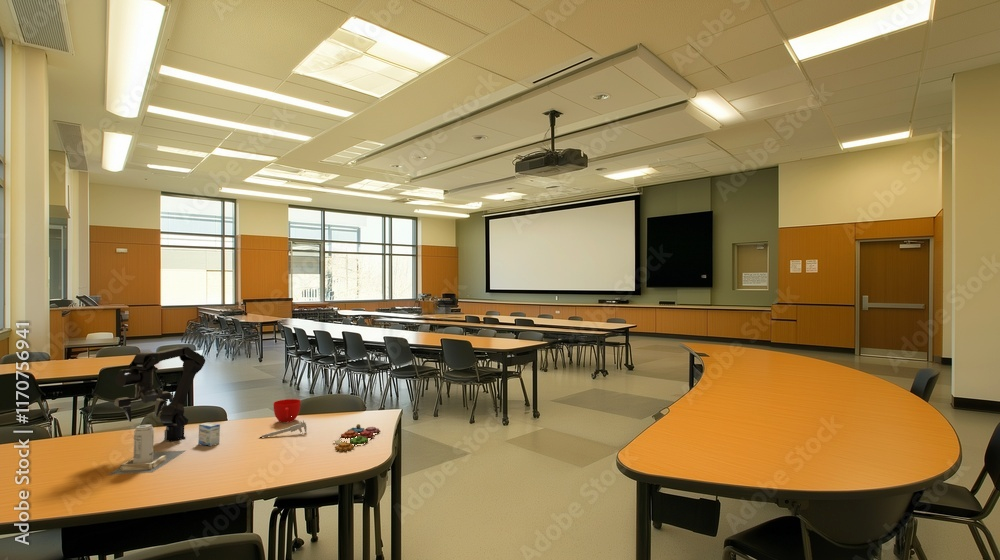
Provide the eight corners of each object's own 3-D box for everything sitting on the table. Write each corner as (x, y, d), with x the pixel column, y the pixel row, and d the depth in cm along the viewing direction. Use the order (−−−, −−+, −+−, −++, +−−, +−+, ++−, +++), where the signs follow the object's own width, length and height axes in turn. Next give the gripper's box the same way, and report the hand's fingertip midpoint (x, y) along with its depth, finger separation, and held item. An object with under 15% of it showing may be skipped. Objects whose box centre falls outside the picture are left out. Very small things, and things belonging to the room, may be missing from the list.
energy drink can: (154, 465, 178) (155, 425, 178) (134, 469, 174) (135, 429, 174) (151, 461, 182) (152, 422, 182) (131, 465, 178) (132, 426, 178)
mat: (147, 452, 192) (147, 452, 192) (186, 451, 195) (186, 450, 195) (107, 475, 169) (107, 474, 169) (152, 473, 171) (152, 472, 171)
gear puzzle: (356, 454, 193) (356, 444, 193) (319, 452, 195) (319, 443, 195) (381, 431, 224) (381, 423, 224) (349, 431, 226) (349, 422, 226)
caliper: (306, 433, 221) (306, 419, 221) (306, 433, 220) (306, 420, 220) (258, 438, 213) (258, 424, 213) (258, 439, 212) (258, 425, 212)
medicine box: (198, 444, 203) (198, 424, 204) (207, 441, 208) (208, 422, 208) (210, 446, 201) (210, 426, 201) (219, 443, 205) (220, 423, 205)
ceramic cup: (272, 427, 228) (272, 407, 229) (273, 419, 244) (274, 400, 244) (300, 425, 234) (300, 405, 234) (300, 416, 249) (300, 398, 249)
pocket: (134, 461, 181) (135, 456, 181) (165, 460, 183) (165, 455, 183) (119, 470, 172) (119, 465, 172) (152, 469, 174) (152, 463, 174)
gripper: (123, 388, 184) (122, 427, 184) (177, 381, 200) (176, 417, 199) (114, 385, 191) (113, 423, 190) (167, 378, 206) (166, 413, 206)
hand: (143, 419), depth 196 cm, fingers open, 9 cm apart
